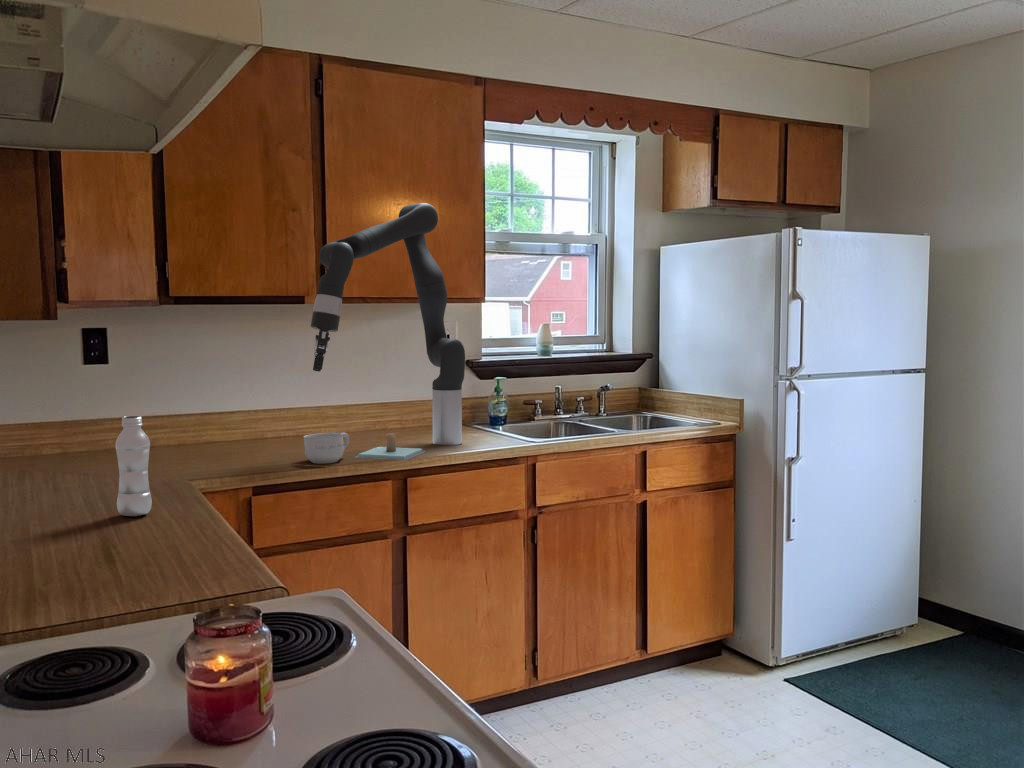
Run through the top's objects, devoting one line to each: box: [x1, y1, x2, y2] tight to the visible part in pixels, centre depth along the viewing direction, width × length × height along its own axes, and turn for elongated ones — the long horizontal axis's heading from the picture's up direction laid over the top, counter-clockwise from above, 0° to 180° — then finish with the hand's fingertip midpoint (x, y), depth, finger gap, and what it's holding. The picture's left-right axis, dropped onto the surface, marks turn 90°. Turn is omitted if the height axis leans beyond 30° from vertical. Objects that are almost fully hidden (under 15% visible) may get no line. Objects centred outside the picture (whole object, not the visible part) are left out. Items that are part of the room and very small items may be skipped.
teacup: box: [302, 432, 351, 465], centre depth 233 cm, size 14×11×8 cm
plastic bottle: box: [114, 415, 153, 517], centre depth 169 cm, size 6×7×20 cm
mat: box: [354, 450, 427, 461], centre depth 245 cm, size 16×16×1 cm
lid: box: [357, 433, 424, 460], centre depth 245 cm, size 14×14×6 cm
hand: (317, 370), depth 235 cm, fingers open, 8 cm apart
